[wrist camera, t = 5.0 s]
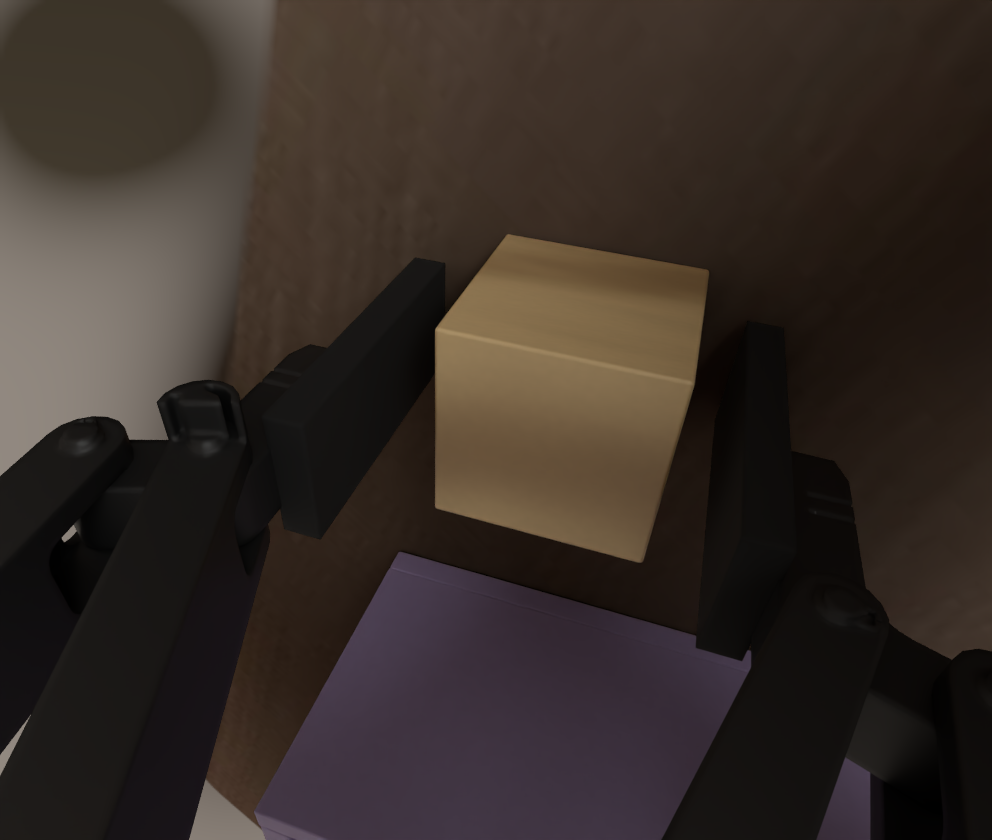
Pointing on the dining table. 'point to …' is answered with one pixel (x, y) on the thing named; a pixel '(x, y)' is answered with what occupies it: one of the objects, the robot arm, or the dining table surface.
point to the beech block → (566, 392)
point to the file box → (509, 722)
